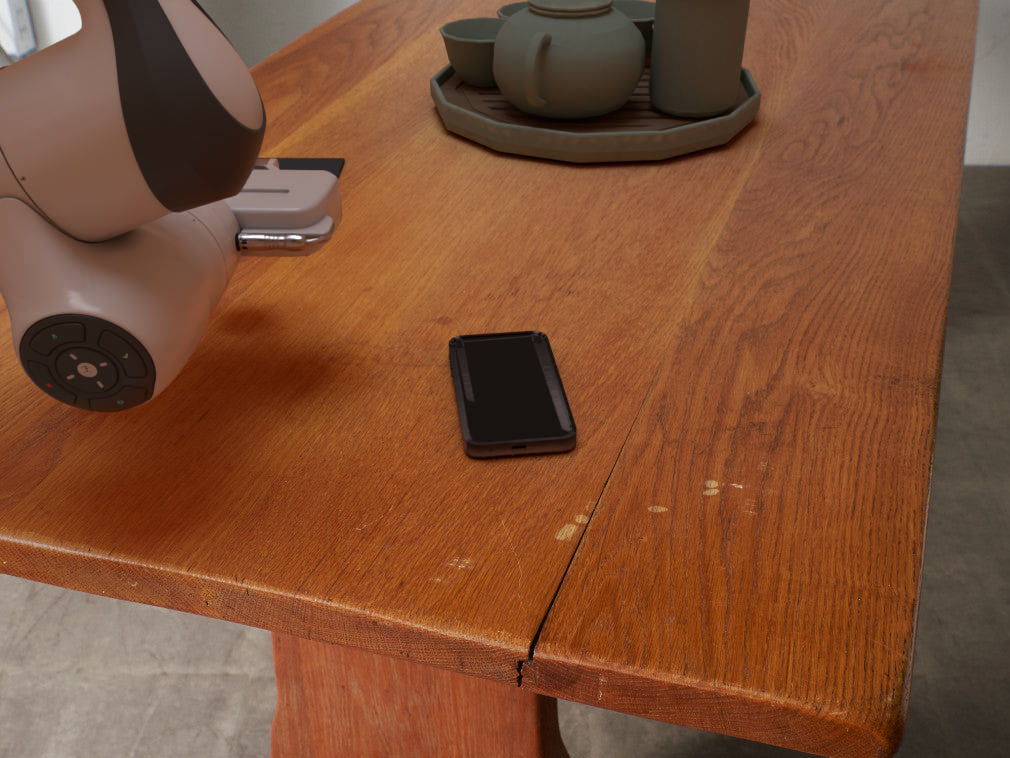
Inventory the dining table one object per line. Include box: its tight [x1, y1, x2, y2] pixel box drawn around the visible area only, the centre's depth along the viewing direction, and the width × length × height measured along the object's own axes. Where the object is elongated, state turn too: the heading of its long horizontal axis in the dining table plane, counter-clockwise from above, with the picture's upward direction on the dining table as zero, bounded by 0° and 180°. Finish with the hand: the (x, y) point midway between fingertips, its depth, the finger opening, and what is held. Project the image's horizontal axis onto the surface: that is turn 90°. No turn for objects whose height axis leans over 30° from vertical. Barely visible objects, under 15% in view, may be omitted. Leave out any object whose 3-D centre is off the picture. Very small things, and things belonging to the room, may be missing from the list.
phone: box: [448, 330, 578, 459], centre depth 74 cm, size 8×1×15 cm
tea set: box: [429, 0, 762, 164], centre depth 120 cm, size 40×40×16 cm
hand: (220, 167), depth 77 cm, fingers closed on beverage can, 6 cm apart
